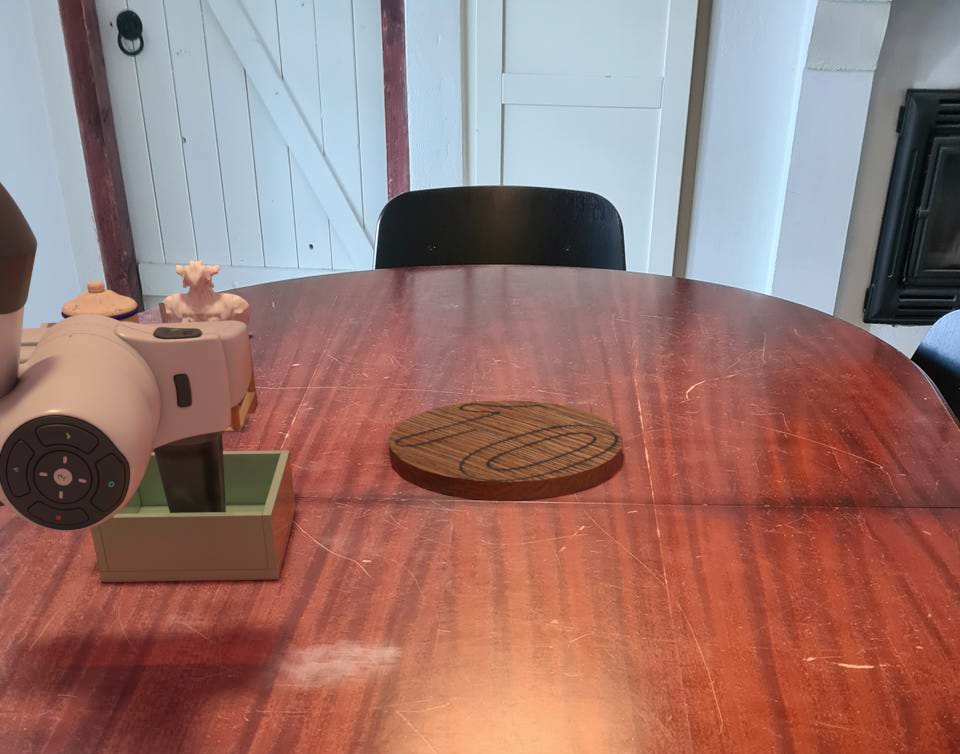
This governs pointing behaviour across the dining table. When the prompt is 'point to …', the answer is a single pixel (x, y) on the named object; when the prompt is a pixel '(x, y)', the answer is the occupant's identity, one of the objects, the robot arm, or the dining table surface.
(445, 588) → the dining table surface
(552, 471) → the trivet
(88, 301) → the teacup with lid
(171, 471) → the beverage cup
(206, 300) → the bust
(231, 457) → the open box
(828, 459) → the dining table surface
